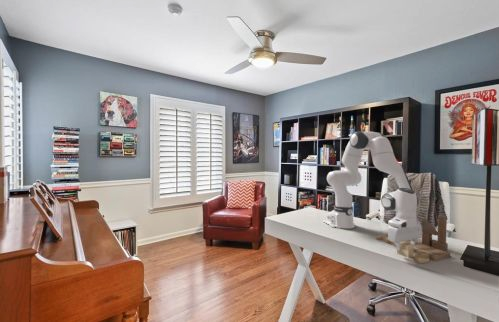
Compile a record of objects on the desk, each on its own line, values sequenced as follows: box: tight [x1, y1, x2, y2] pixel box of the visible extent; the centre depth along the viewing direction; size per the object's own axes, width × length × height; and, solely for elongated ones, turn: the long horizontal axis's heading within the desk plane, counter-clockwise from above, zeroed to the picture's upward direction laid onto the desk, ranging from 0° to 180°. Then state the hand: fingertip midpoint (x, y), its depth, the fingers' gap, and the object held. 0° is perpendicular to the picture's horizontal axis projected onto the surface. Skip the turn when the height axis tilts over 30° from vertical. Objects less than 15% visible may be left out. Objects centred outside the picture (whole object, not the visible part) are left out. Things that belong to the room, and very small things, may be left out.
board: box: [376, 233, 452, 262], centre depth 132 cm, size 32×12×2 cm, turn 22°
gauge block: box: [396, 241, 414, 259], centre depth 122 cm, size 6×4×6 cm, turn 22°
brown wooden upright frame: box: [421, 214, 449, 252], centre depth 132 cm, size 4×11×18 cm, turn 29°
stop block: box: [413, 251, 430, 265], centre depth 115 cm, size 3×6×4 cm, turn 112°
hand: (405, 248), depth 122 cm, fingers open, 8 cm apart
